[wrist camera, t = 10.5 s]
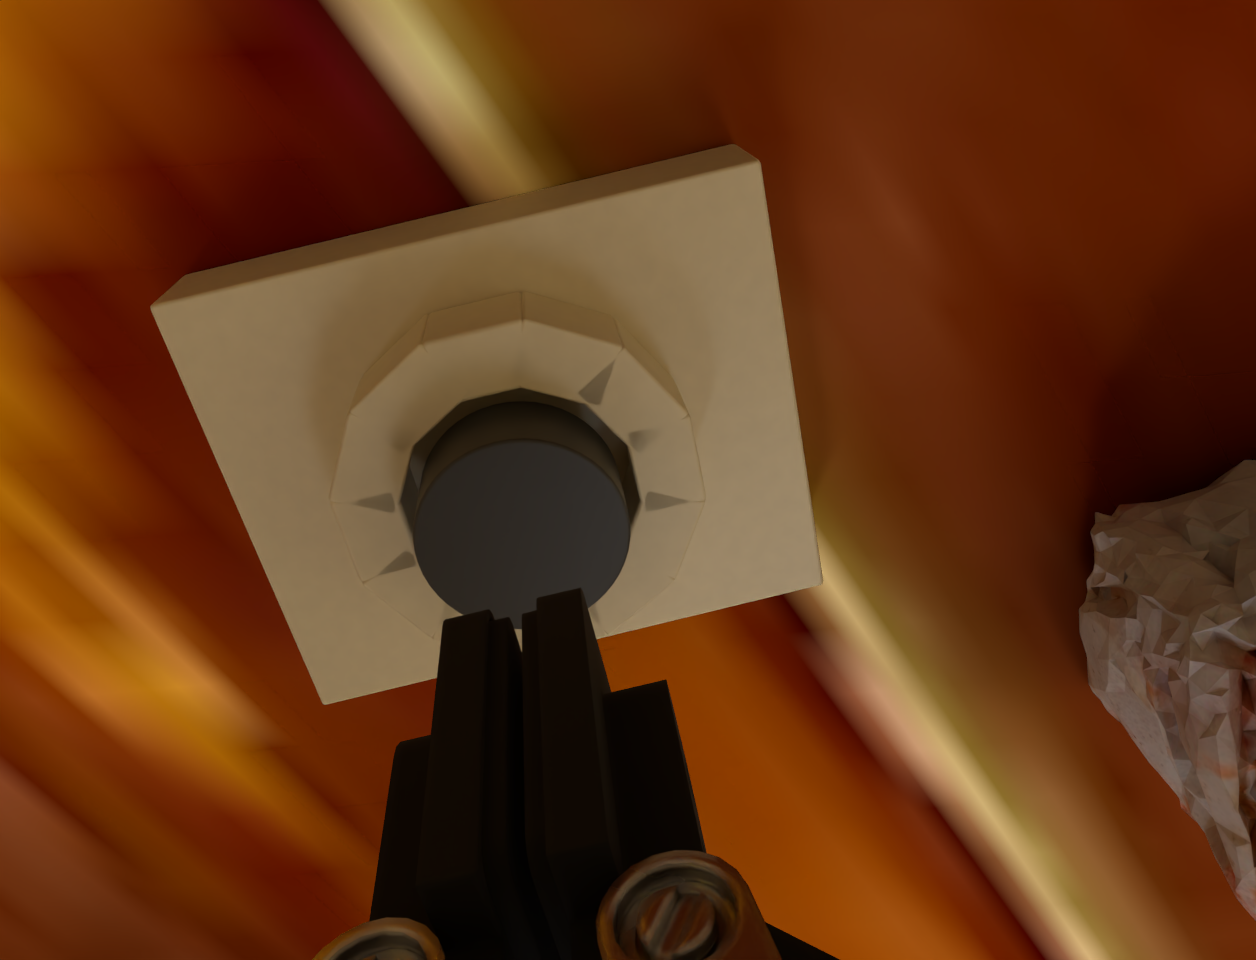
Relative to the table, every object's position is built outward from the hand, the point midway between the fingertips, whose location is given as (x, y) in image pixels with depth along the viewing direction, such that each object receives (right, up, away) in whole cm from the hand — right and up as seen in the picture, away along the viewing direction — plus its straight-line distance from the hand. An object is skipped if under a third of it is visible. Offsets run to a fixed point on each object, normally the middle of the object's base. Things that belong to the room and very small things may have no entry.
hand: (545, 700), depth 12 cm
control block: (-1, +4, +10) cm, 10 cm away
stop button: (-1, +2, +6) cm, 7 cm away
